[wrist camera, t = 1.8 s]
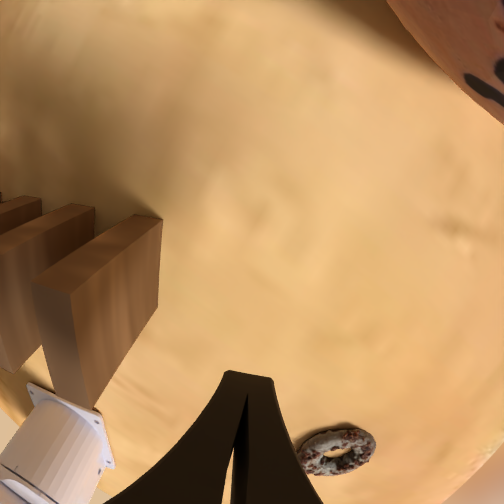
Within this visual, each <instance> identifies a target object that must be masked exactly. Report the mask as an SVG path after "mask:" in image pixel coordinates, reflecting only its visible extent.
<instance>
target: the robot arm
mask: <svg viewBox="0 0 504 504" xmlns="http://www.w3.org/2000/svg"><path fill="white" fill-rule="evenodd" d="M26 386H27V389H28V392H29V395H30V397H31V400H32V402H33V405H34V409H33V410H32V411H31V413H30V414H29V415H28V417H27V418H26V419H25V421H24V422H23V423H22V425H21V426H20V428H19V429H18V431H17V432H16V433H15V435H14V436H13V437H12V439H11V440H10V442H9V443H8V444H7V446H6V447H5V449H4V450H3V452H2V453H1V455H0V504H89V502H90V500H91V498H92V495H93V493H94V491H95V488H96V487H97V484H98V482H99V480H100V478H101V476H102V473H103V471H104V469H105V467H108V468H111V469H115V467H116V465H115V461H114V458H113V455H112V451H111V448H110V444H109V441H108V437H107V433H106V430H105V426H104V422H103V418H102V416H101V414H99V413H98V412H96V411H93V410H88V409H86V408H83V407H81V406H78V405H76V404H73V403H71V402H69V401H67V400H64V399H62V398H60V397H58V396H56V395H55V394H53V393H51V392H49V391H47V390H45V389H43V388H41V387H38V386H36V385H34V384H32V383H30V382H28V383H27V385H26ZM233 448H234V454H233V469H232V485H231V500H230V504H323V502H322V501H321V499H320V497H319V496H318V494H317V493H316V491H315V489H314V487H313V486H312V484H311V482H310V480H309V479H308V477H307V475H306V473H305V471H304V469H303V467H302V465H301V463H300V460H299V458H298V456H297V454H296V452H295V449H294V447H293V445H292V442H291V440H290V437H289V434H288V432H287V429H286V426H285V423H284V420H283V417H282V414H281V411H280V408H279V404H278V400H277V396H276V392H275V387H274V381H273V380H272V379H271V378H269V377H264V376H258V375H252V374H247V373H241V372H236V371H231V370H228V371H226V372H224V375H223V378H222V380H221V382H220V384H219V386H218V388H217V390H216V391H215V393H214V395H213V396H212V398H211V400H210V401H209V403H208V404H207V406H206V407H205V408H204V410H203V411H202V413H201V414H200V415H199V417H198V418H197V419H196V421H195V422H194V423H193V425H192V426H191V427H190V428H189V429H188V431H187V432H186V433H185V434H184V435H183V436H182V438H181V439H180V440H179V441H178V442H177V443H176V444H175V445H174V446H173V448H172V449H171V450H170V451H169V452H168V453H167V454H166V455H165V456H164V457H163V458H162V459H160V460H159V461H158V462H157V463H156V464H155V465H154V466H153V467H152V468H151V469H150V470H148V471H147V472H146V473H145V474H144V475H142V476H141V477H140V478H139V479H138V480H136V481H135V482H134V483H133V484H131V485H130V486H129V487H127V488H126V489H125V490H123V491H122V492H120V493H119V494H117V495H116V496H114V497H113V498H111V499H110V500H108V501H107V502H105V503H103V504H221V503H222V497H223V491H224V485H225V479H226V473H227V468H228V465H229V462H230V458H231V455H232V451H233Z"/></svg>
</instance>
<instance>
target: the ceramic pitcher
mask: <svg viewBox="0 0 504 504" xmlns="http://www.w3.org/2000/svg"><path fill="white" fill-rule="evenodd" d="M386 2H387V3H388V4H389V6H390V7H391V8H392V10H393V11H394V12H395V14H396V15H397V17H398V18H399V20H400V21H401V23H402V24H403V26H404V27H405V29H407V30H408V31H409V32H410V33H411V35H412V36H413V37H414V39H415V40H416V41H417V42H418V43H419V45H420V46H421V47H422V48H423V49H424V50H425V52H426V53H427V54H428V55H429V56H430V58H431V59H432V60H433V61H434V62H435V63H436V64H437V65H438V66H439V67H440V68H441V69H442V70H443V71H444V72H445V73H446V74H447V75H448V76H449V77H450V78H451V79H452V80H453V81H454V82H455V83H456V84H457V85H458V86H459V87H460V88H461V89H462V90H463V91H464V92H465V93H466V94H467V95H469V96H470V97H471V98H472V99H473V100H474V101H475V102H476V103H477V104H479V105H480V106H481V107H483V108H484V109H485V110H486V111H487V112H489V113H490V114H491V115H492V116H493V117H494V118H496V119H497V120H498V121H499V122H501V123H502V124H503V125H504V0H386Z"/></svg>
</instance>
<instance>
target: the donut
mask: <svg viewBox="0 0 504 504" xmlns="http://www.w3.org/2000/svg"><path fill="white" fill-rule="evenodd" d="M345 448H352V449H353V450H352V451H351V452H349V453H346V454H344V455H343V456H342V457H338V458H332V459H327V457H325V456H323V453H325V452H327V451H330V450H331V451H334V450H336V449H342V450H343V449H345ZM375 448H376V442H375V440H374V438H373V436H372V435H371V434H370V433H368V432H366V431H364V430H360V429H352V430H328V431H325V432H323V433H318V434H317V435H316V436H314V437H313V438H311V439H309V440H307V441H305V442H304V444H303V445H302V446H301V447H300V448H299V450H298V451H297V452H296V454H297V456H298V458H299V460H300V463H301V465H302V467H303V469H304V471H305V473H307V474H314V475H315V476H321V475H323V476H335V475H341V474H345V473H348V472H351V471H353V470H355V469H357V468H358V467H360V466H362V465H363V464H364V463H366V462H369V459H370V458H371V456H372V455H373V454H374V451H375Z"/></svg>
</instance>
